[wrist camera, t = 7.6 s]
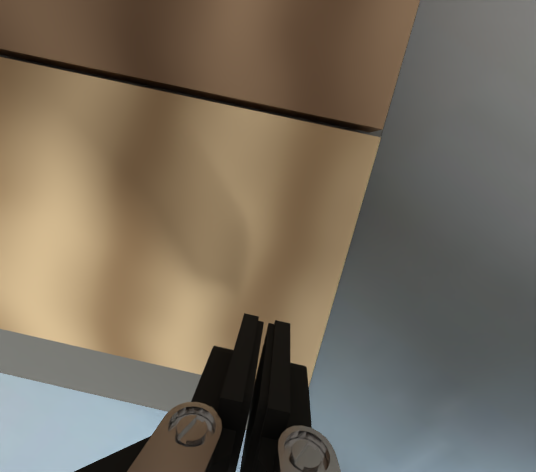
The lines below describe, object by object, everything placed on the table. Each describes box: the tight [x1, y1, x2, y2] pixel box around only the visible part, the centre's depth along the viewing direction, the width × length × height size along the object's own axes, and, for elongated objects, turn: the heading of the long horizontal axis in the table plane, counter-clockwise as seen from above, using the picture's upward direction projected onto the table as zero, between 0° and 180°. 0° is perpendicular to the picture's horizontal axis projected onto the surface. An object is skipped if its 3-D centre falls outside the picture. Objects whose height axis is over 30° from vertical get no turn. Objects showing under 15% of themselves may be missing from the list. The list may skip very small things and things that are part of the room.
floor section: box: [0, 0, 420, 430], centre depth 14 cm, size 18×30×3 cm, turn 168°
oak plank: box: [0, 57, 381, 387], centre depth 14 cm, size 17×12×2 cm
